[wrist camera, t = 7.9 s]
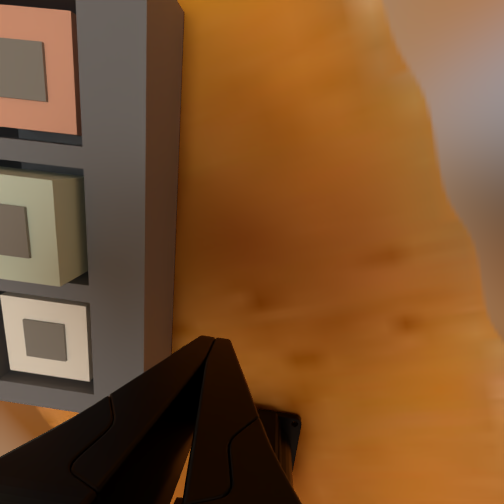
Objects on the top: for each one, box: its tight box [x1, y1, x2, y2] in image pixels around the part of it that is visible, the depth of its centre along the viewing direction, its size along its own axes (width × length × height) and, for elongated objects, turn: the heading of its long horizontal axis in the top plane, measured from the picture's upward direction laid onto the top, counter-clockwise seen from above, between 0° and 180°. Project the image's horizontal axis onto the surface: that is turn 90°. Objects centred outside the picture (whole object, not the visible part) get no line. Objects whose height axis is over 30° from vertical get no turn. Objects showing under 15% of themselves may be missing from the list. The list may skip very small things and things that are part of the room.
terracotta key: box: [0, 4, 82, 136], centre depth 16 cm, size 5×5×3 cm
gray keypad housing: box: [0, 0, 184, 413], centre depth 18 cm, size 23×12×5 cm, turn 174°
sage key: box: [0, 166, 88, 287], centre depth 16 cm, size 5×5×3 cm
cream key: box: [0, 292, 93, 382], centre depth 20 cm, size 5×5×3 cm
